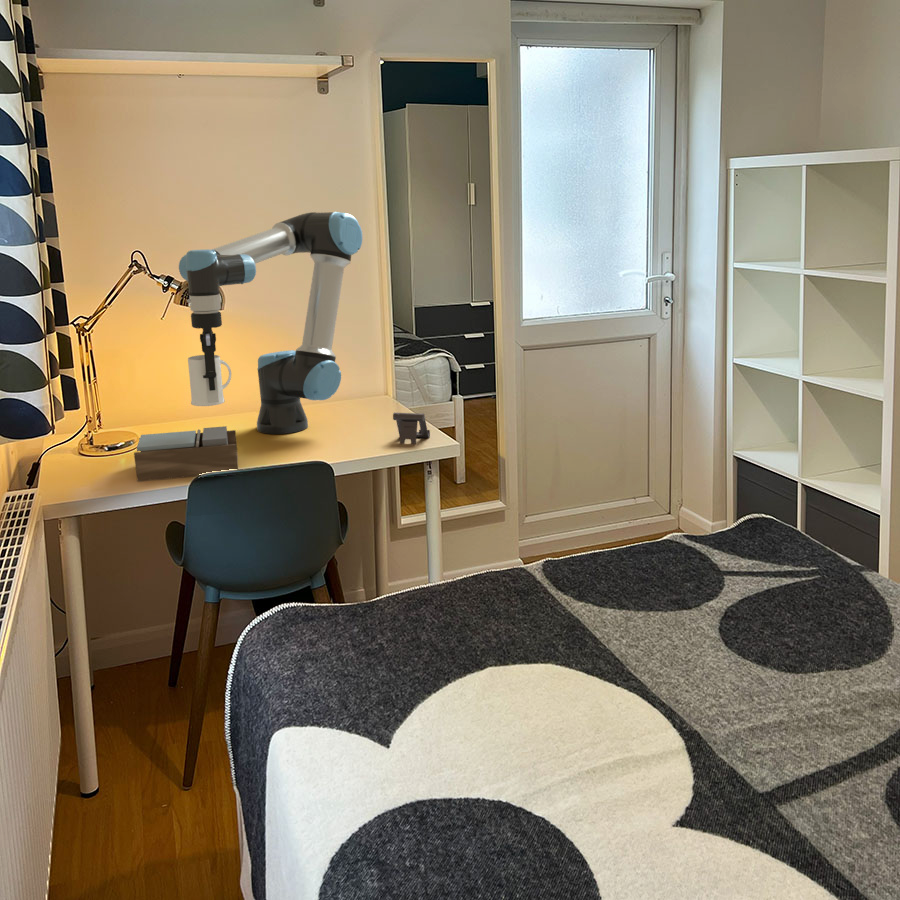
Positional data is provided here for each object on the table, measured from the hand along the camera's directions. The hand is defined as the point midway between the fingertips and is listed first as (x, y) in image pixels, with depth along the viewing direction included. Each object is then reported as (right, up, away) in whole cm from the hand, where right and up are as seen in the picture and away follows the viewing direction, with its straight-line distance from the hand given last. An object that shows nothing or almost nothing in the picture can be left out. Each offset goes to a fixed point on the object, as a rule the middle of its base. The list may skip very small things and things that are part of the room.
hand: (213, 398), depth 257 cm
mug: (0, -1, +1) cm, 1 cm away
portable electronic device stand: (+51, -11, +22) cm, 57 cm away
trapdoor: (-7, -15, +1) cm, 17 cm away
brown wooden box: (-7, -18, +2) cm, 19 cm away
